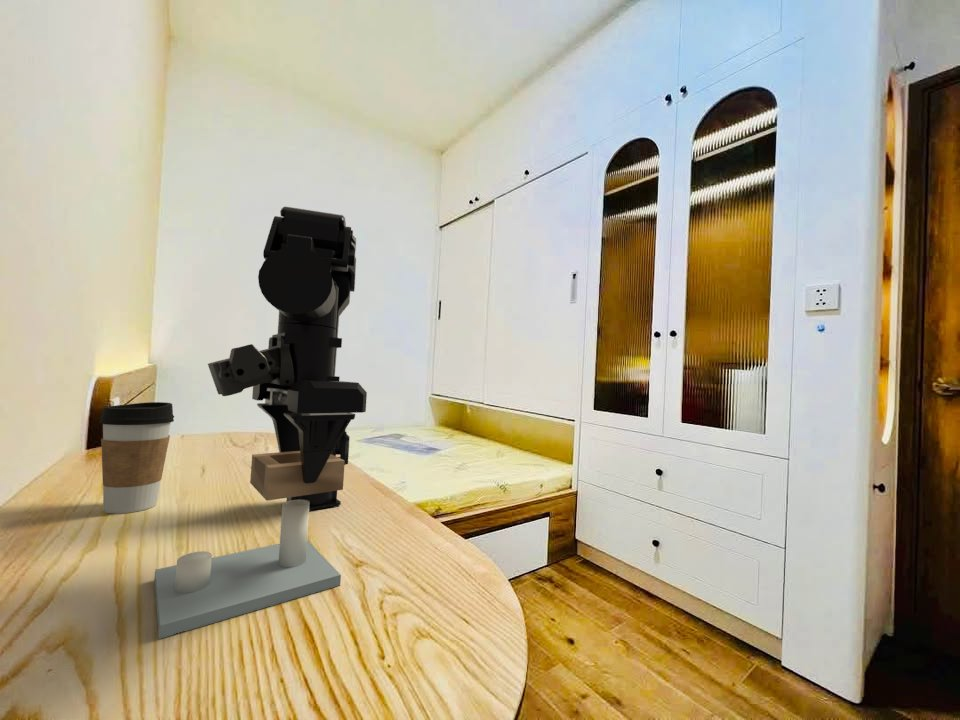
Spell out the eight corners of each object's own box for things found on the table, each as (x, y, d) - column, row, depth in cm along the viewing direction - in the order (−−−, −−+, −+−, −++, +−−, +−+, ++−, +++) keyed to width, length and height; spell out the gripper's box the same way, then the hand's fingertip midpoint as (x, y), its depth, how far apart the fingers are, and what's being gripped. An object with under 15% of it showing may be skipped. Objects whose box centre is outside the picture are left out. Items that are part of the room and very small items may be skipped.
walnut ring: (319, 474, 48) (320, 449, 48) (342, 489, 42) (344, 460, 42) (250, 482, 43) (252, 454, 43) (266, 500, 37) (268, 467, 38)
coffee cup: (180, 503, 61) (188, 404, 62) (115, 520, 53) (125, 406, 54) (143, 495, 64) (151, 400, 65) (76, 511, 56) (86, 403, 57)
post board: (304, 546, 48) (308, 487, 48) (340, 585, 40) (344, 512, 40) (154, 580, 39) (160, 506, 39) (159, 639, 31) (166, 545, 31)
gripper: (206, 324, 45) (195, 465, 44) (238, 307, 31) (222, 513, 30) (309, 335, 52) (301, 456, 52) (373, 324, 38) (363, 492, 37)
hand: (298, 474), depth 43 cm, fingers closed on walnut ring, 7 cm apart
